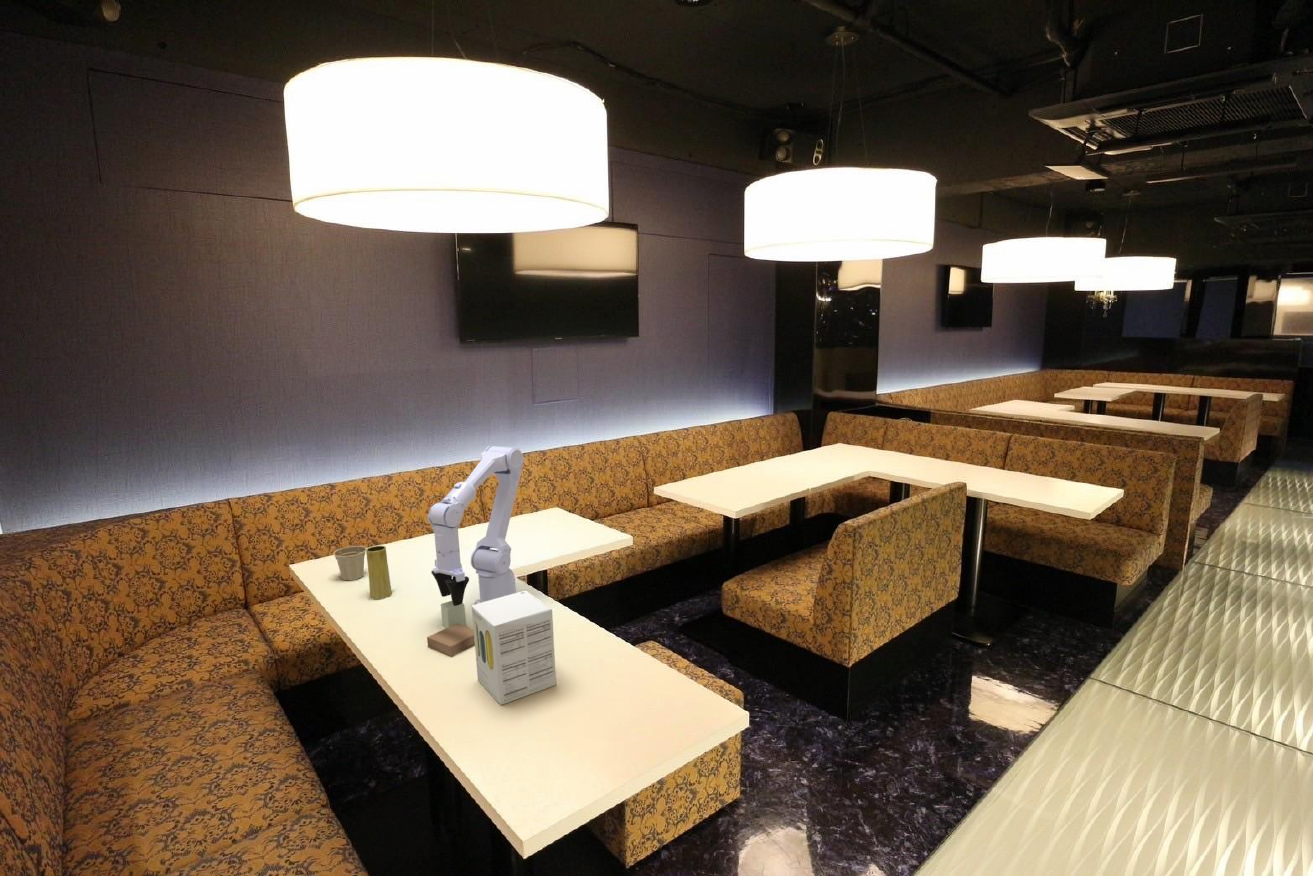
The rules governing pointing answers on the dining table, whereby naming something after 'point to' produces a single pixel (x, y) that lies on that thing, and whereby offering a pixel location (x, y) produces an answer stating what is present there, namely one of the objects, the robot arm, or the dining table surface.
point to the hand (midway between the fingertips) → (451, 600)
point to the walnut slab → (452, 640)
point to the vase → (378, 572)
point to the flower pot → (351, 562)
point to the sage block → (452, 614)
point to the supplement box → (514, 646)
